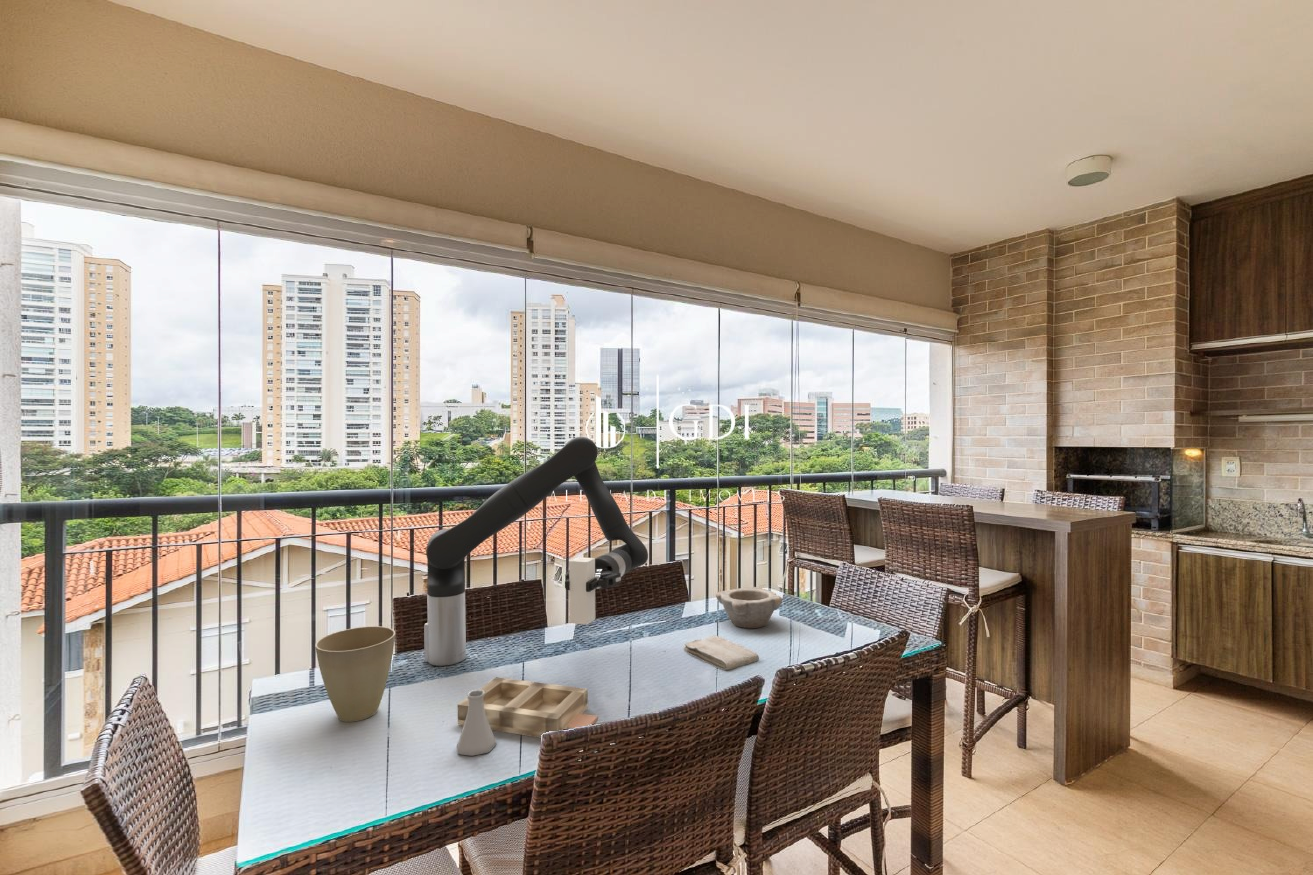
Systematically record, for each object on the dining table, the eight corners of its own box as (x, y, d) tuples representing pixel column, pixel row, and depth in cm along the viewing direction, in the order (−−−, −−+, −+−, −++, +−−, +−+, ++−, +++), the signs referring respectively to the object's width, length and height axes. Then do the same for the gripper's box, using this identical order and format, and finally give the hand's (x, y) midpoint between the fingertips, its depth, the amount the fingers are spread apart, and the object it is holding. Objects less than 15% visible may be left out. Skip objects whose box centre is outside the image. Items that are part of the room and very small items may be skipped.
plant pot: (341, 697, 133) (340, 625, 133) (408, 698, 132) (407, 626, 132) (299, 731, 118) (298, 650, 118) (374, 732, 117) (373, 650, 117)
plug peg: (569, 622, 135) (569, 560, 135) (577, 617, 140) (577, 557, 140) (587, 624, 134) (587, 562, 134) (595, 618, 138) (594, 558, 138)
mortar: (712, 618, 188) (712, 589, 187) (762, 613, 192) (761, 584, 192) (734, 635, 171) (733, 603, 171) (787, 629, 176) (787, 598, 176)
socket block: (457, 724, 120) (457, 704, 120) (496, 695, 134) (496, 677, 133) (576, 743, 112) (576, 721, 112) (605, 710, 126) (605, 691, 126)
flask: (461, 737, 115) (460, 685, 115) (499, 735, 116) (499, 684, 115) (451, 758, 108) (451, 702, 108) (492, 756, 108) (492, 700, 108)
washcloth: (714, 642, 167) (714, 631, 167) (761, 662, 152) (761, 650, 152) (680, 652, 160) (680, 640, 160) (726, 673, 145) (726, 660, 145)
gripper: (579, 553, 153) (548, 567, 136) (633, 556, 148) (606, 571, 132) (580, 582, 153) (548, 600, 136) (633, 586, 148) (607, 605, 132)
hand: (577, 586), depth 134 cm, fingers closed on plug peg, 4 cm apart
